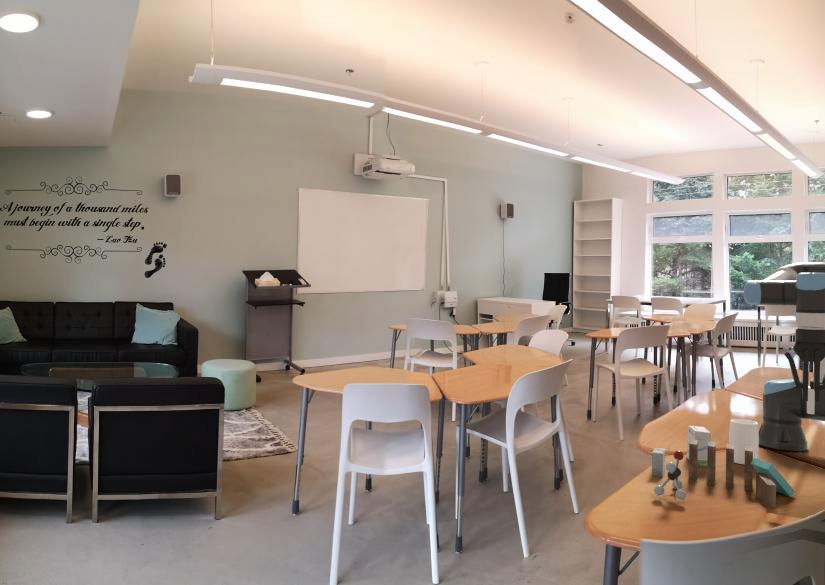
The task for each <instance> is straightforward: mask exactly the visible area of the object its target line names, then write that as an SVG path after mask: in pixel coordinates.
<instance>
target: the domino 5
mask: <svg viewBox="0 0 825 585" xmlns="http://www.w3.org/2000/svg"><path fill="white" fill-rule="evenodd" d="M755 494H756V496H757V497H758V499H760V501H761V502H762V503H763V504H764V506H765V507H766V508H771V509H776V508H777V507H776V506H777V503H776V502H777V491H776V485H775V484H774V483H773V482H772V481H771V480H770V479H769V478H768V477H767V475H766V474H765V473H758V472H755Z"/></svg>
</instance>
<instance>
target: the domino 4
mask: <svg viewBox="0 0 825 585" xmlns="http://www.w3.org/2000/svg"><path fill="white" fill-rule="evenodd" d="M752 461H753V447H749V446H745V465H744V475H743V476H744V478H743V481H744V484H743V489H744V490H745V491H746V490H747V491H751V492H752V491H753V480H754V479H753V478H754V474H753V473H754V470H753V469H754V467H753V466H752V465H751V462H752Z"/></svg>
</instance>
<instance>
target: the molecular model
mask: <svg viewBox="0 0 825 585" xmlns="http://www.w3.org/2000/svg"><path fill="white" fill-rule="evenodd" d="M672 455H673V459H675V460H676V461H675V463H674V462H673V461H668V462H667V463H665V471H667V475H666V476H667V477H666V478H665V480H664V481H663V482H662V483H661V485H660V484H657V485H655V486H654V487H653V492H654V494H655V495H656V496H662V495H664V493H665V488H664V487H665V486H666V485H667V483H669V481H672V482H671V483H672V484H671V485H672V488H673V489H675V497H676V498H677V499H678V500H681V501H684V500H686V498H687V493H686V491H685V490H684V489H682V488H683V486H684V485H683V482H682V481H681V480H680V479H679V477H680V476H681V475H682V470H681V468H679V464H680V461H682V460H683V459H684V458H685V457H684V456H685V455H684V453H683V452H682V451H681V450H675V451H674V452H673V454H672Z"/></svg>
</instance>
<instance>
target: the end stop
mask: <svg viewBox="0 0 825 585" xmlns="http://www.w3.org/2000/svg"><path fill="white" fill-rule="evenodd" d="M665 466H666V448H661V447H656V446H655V447H654V448H653V451H652V452H651V476H653V477H658V478H664V475H665V471H666V467H665Z"/></svg>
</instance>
